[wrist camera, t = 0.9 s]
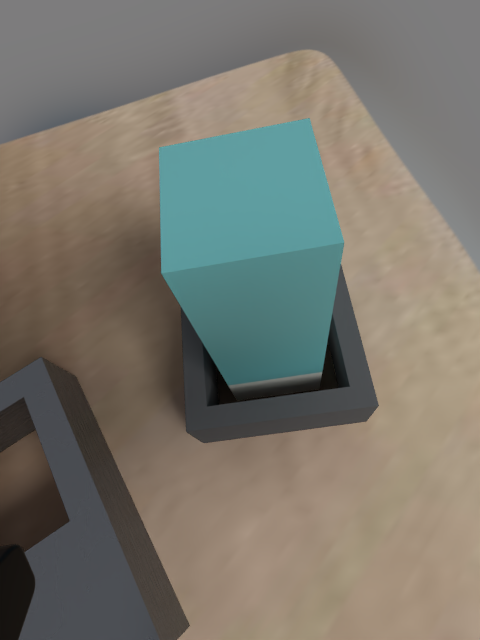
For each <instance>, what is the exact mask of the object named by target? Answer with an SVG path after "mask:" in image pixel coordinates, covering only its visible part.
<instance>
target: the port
mask: <svg viewBox="0 0 480 640" xmlns="http://www.w3.org/2000/svg"><path fill="white" fill-rule="evenodd" d="M35 429H36V431H37V434H38V436H39V439H40V442H41V445H42V447H43V450H44V453H45V455H46V458H47V461H48V463H49V466H50V469H51V471H52V474H53V477H54V479H55V482H56V485H57V488H58V490H59V493H60V496H61V498H62V501H63V504H64V506H65V509H66V512H67V514H68V517H69V520H70V521H69V522H68V523H66V524H65V525H64V526H62V527H61V528H59V529H58V530H56V531H55V532H53V533H52V534H50V535H49V536H48V537H46V538H45V539H43V540H42V541H40V542H39V543H37V544H36V545H34V546H33V547H32V548H30V549H29V550H27V551H26V552H24V553H25V555H26V557H27V559H28V562H29V564H30V566H31V569H32V571H33V573H34V576H35V591H34V594H33V597H32V600H31V604H30V607H29V610H28V613H27V616H26V619H25V622H24V625H23V628H22V631H21V634H20V637H19V640H177V639H178V638H179V637H180V636H181V635H182V634H183V633H184V632H185V631H186V629H187V628H188V627H189V626H190V625H189V623H188V621H187V619H186V616H185V614H184V612H183V610H182V608H181V606H180V603H179V601H178V599H177V597H176V595H175V592H174V590H173V588H172V586H171V584H170V581H169V579H168V577H167V575H166V573H165V570H164V568H163V566H162V564H161V562H160V560H159V557H158V555H157V553H156V551H155V549H154V546H153V544H152V542H151V540H150V538H149V535H148V533H147V531H146V529H145V527H144V524H143V522H142V520H141V518H140V516H139V513H138V511H137V509H136V507H135V505H134V503H133V500H132V498H131V496H130V494H129V492H128V489H127V487H126V485H125V483H124V481H123V478H122V476H121V474H120V472H119V470H118V467H117V465H116V463H115V461H114V459H113V456H112V454H111V452H110V450H109V448H108V446H107V443H106V441H105V439H104V437H103V435H102V432H101V430H100V428H99V426H98V424H97V421H96V419H95V417H94V415H93V413H92V410H91V408H90V406H89V404H88V402H87V400H86V397H85V395H84V393H83V391H82V389H81V386H80V384H79V382H78V380H77V378H76V377H75V376H74V375H72V374H70V373H68V372H67V371H65V370H63V369H62V368H60V367H58V366H56V365H55V364H53V363H51V362H49V361H48V360H46V359H44V358H42V357H40V358H39V359H37V360H35V361H34V362H32V363H31V364H29V365H27V366H26V367H24V368H22V369H21V370H19V371H18V372H16V373H14V374H13V375H11V376H10V377H8V378H6V379H5V380H3V381H1V382H0V452H1V451H3V450H4V449H6V448H7V447H9V446H11V445H12V444H14V443H15V442H17V441H18V440H20V439H21V438H23V437H25V436H26V435H28V434H29V433H31V432H32V431H34V430H35Z"/></svg>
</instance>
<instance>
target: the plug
mask: <svg viewBox="0 0 480 640" xmlns="http://www.w3.org/2000/svg"><path fill="white" fill-rule="evenodd" d="M159 170H160V227H161V274H162V276H163V277H164V279H165V281H166V282H167V284H168V286H169V287H170V289H171V291H172V292H173V294H174V296H175V297H176V299H177V301H178V302H179V304H180V306H181V307H182V309H183V311H184V312H185V314H186V316H187V317H188V319H189V321H190V323H191V324H192V326H193V328H194V329H195V331H196V333H197V334H198V336H199V338H200V339H201V341H202V343H203V344H204V346H205V348H206V349H207V351H208V353H209V354H210V356H211V358H212V359H213V361H214V363H215V364H216V366H217V368H218V369H219V371H220V373H221V375H222V376H223V378H224V380H225V381H226V383H227V385H228V386H229V388H230V390H231V391H232V393H233V395H234V396H235V398H236V400H237V401H239V400H246V399H253V398H260V397H267V396H274V395H281V394H288V393H296V392H303V391H310V390H317V389H319V388H320V383H321V377H322V371H323V365H324V359H325V353H326V347H327V341H328V335H329V330H330V324H331V318H332V312H333V306H334V300H335V294H336V288H337V282H338V277H339V271H340V265H341V259H342V253H343V247H344V240H343V236H342V233H341V229H340V226H339V222H338V218H337V215H336V211H335V208H334V204H333V201H332V197H331V193H330V190H329V186H328V183H327V179H326V176H325V172H324V168H323V165H322V161H321V158H320V154H319V151H318V147H317V143H316V140H315V136H314V133H313V129H312V126H311V122H310V118H308V119H303V120H298V121H293V122H287V123H282V124H277V125H272V126H267V127H262V128H257V129H252V130H246V131H241V132H236V133H231V134H226V135H221V136H216V137H211V138H206V139H200V140H195V141H190V142H185V143H180V144H175V145H170V146H165V147H159Z"/></svg>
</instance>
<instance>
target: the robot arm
mask: <svg viewBox="0 0 480 640" xmlns="http://www.w3.org/2000/svg"><path fill="white" fill-rule="evenodd" d="M34 591H35V576H34V573H33V571H32V569H31V566H30V564H29V562H28V559H27V557H26V555H25V553H24V550H23V548H22V547H21V546H19V545H16V544H13V545H6V546H0V640H19V637H20V634H21V631H22V628H23V625H24V622H25V619H26V616H27V613H28V610H29V607H30V604H31V600H32V597H33V594H34Z"/></svg>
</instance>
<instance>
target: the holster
mask: <svg viewBox="0 0 480 640" xmlns="http://www.w3.org/2000/svg"><path fill="white" fill-rule="evenodd" d="M181 321H182V344H183V367H184V391H185V414H186V432H187V433H189V434H190V435H192V436H193V437H195V438H197V439H198V440H200V441H201V442H203V443H208V442H216V441H223V440H231V439H238V438H246V437H253V436H261V435H268V434H276V433H283V432H291V431H298V430H306V429H313V428H321V427H328V426H336V425H343V424H351V423H358V422H366V421H367V420H368V419H369V417H370V416H371V415H372V414H373V412H374V411H375V410H376V409H377V407H378V406H379V405H378V401H377V397H376V394H375V390H374V386H373V382H372V379H371V375H370V371H369V367H368V364H367V360H366V356H365V352H364V349H363V345H362V341H361V337H360V334H359V330H358V326H357V322H356V319H355V315H354V311H353V307H352V304H351V300H350V296H349V292H348V289H347V285H346V281H345V277H344V274H343V270H342V266H341V265H340V271H339V277H338V282H337V288H336V294H335V300H334V306H333V312H332V318H331V324H330V330H329V335H328V344H329V348H330V353H331V357H332V362H333V366H334V370H335V375H336V379H337V384H338V388H336V389H329V390H322V391H314V392H307V393H300V394H293V395H286V396H279V397H272V398H265V399H258V400H250V401H243V402H236V403H229V404H222V405H219V396H218V383H217V371H216V364H215V363H214V361H213V359H212V358H211V356H210V354H209V353H208V351H207V349H206V348H205V346H204V344H203V343H202V341H201V339H200V338H199V336H198V334H197V333H196V331H195V329H194V328H193V326H192V324H191V323H190V321H189V319H188V317H187V316H186V314H185V312H184V311H183V309H182V307H181Z"/></svg>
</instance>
